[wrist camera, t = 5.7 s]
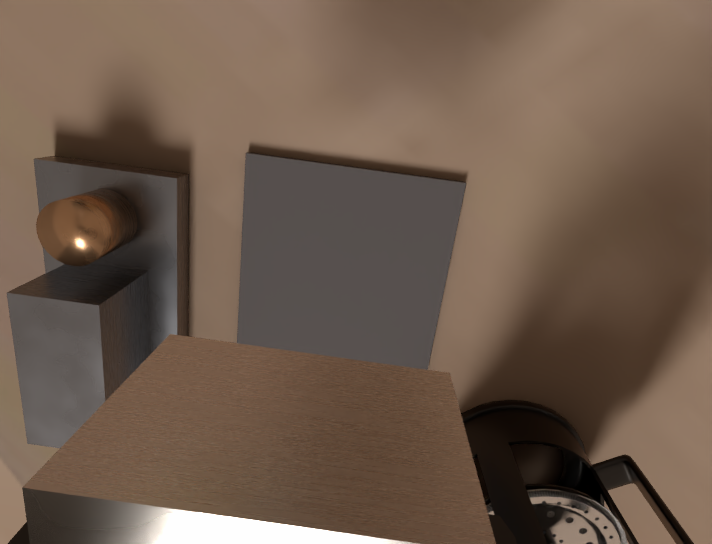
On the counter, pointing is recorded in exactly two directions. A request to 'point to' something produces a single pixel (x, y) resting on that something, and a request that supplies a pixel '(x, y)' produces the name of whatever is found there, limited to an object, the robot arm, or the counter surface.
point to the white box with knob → (264, 455)
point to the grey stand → (97, 287)
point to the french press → (572, 493)
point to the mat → (344, 259)
